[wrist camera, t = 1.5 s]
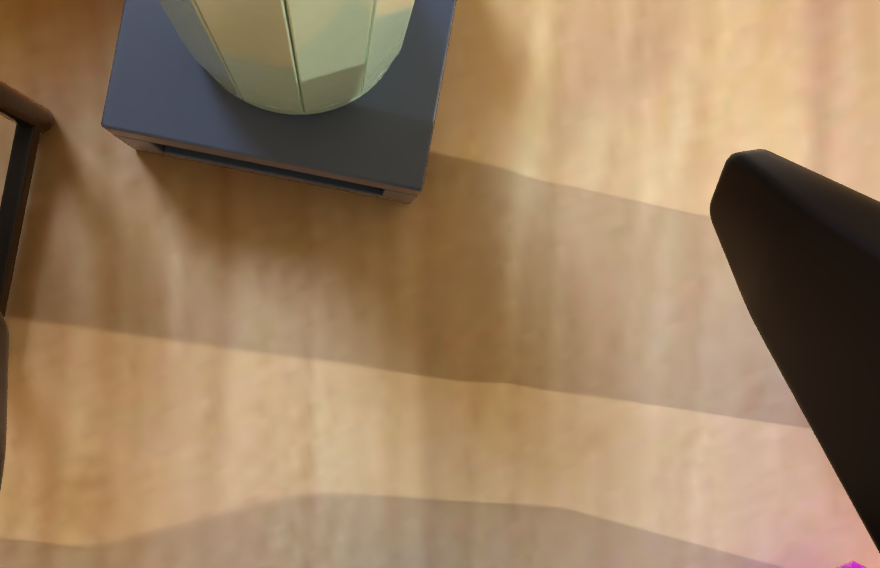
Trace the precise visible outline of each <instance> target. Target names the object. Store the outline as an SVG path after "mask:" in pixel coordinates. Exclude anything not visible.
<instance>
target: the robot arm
mask: <svg viewBox="0 0 880 568" xmlns="http://www.w3.org/2000/svg"><path fill="white" fill-rule="evenodd" d="M710 216H711V220H712V223H713V226H714V228H715V231H716V233H717V236H718V238H719V241H720V243H721V245H722V248H723V250H724V253H725V255H726V258H727V260H728V263H729V265H730V268H731V270H732V273H733V275H734V277H735V280H736V282H737V285H738V287H739V290H740V292H741V295H742V297H743V300H744V302H745V304H746V306H747V309H748V311H749V313H750V315H751V317H752V319H753V321H754V323H755V325H756V327H757V329H758V331H759V333H760V335H761V337H762V338H763V340H764V342H765V344H766V346H767V348H768V349H769V351H770V353H771V355H772V357H773V359H774V360H775V362H776V364H777V366H778V368H779V370H780V371H781V373H782V375H783V377H784V379H785V381H786V382H787V384H788V386H789V388H790V390H791V392H792V393H793V395H794V397H795V399H796V401H797V403H798V404H799V406H800V408H801V410H802V412H803V414H804V415H805V417H806V419H807V421H808V423H809V425H810V426H811V428H812V430H813V432H814V434H815V436H816V437H817V439H818V441H819V443H820V445H821V447H822V448H823V450H824V452H825V454H826V456H827V458H828V459H829V461H830V463H831V465H832V467H833V469H834V470H835V472H836V474H837V476H838V478H839V480H840V481H841V483H842V485H843V487H844V489H845V491H846V492H847V494H848V496H849V498H850V500H851V502H852V503H853V505H854V507H855V509H856V511H857V513H858V514H859V516H860V518H861V520H862V522H863V524H864V525H865V527H866V529H867V531H868V533H869V535H870V536H871V538H872V540H873V542H874V544H875V546H876V547H877V549H878V551H879V553H880V202H879V201H877V200H874V199H872V198H870V197H868V196H866V195H863V194H861V193H859V192H857V191H855V190H853V189H850V188H848V187H846V186H844V185H842V184H839V183H837V182H835V181H833V180H831V179H829V178H826V177H824V176H822V175H820V174H818V173H815V172H813V171H811V170H809V169H807V168H805V167H802V166H800V165H798V164H796V163H794V162H792V161H789V160H787V159H785V158H783V157H781V156H778V155H776V154H774V153H772V152H770V151H767V150H763V149H757V150H750V151H743V152H737V153H734V154H732V155H731V156H730V157H729V158H728V159H727V161H726V163H725V165H724V168H723V170H722V173H721V176H720V178H719V181H718V184H717V186H716V189H715V192H714V194H713V197H712V200H711V203H710ZM8 348H9V333H8V327H7V324H6V321H5V319H4V317H3V315H2V313H1V312H0V489H1V483H2V477H3V469H4V461H5V450H6V429H7V388H8Z"/></svg>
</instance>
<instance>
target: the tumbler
mask: <svg viewBox="0 0 880 568" xmlns="http://www.w3.org/2000/svg"><path fill="white" fill-rule="evenodd" d="M157 1H158V2H159V4H160V5H161V7H162V9H163V10H164V12H165V13H166V15H167V17H168V18H169V20H170V22H171V23H172V25H173V26H174V28H175V30H176V31H177V33H178V34H179V36H180V38H181V39H182V41H183V43H184V44H185V46H186V47H187V49H188V51H189V52H190V54H191V55H192V56H193V58H194V60H196V61H197V62H198V63H199V64H200V65H201V66H203V67H204V68H205V69H206V71H207V72H208V73H209V74H210V76H211V77H213V78H214V79H215V80H216V81H217V82H218V83H219V84H220V85H221V86H222V87H223V88H225V89H226V90H227V91H229V92H230V93H231V94H233V95H234V96H236V97H238V98H239V99H241V100H243V101H245V102H246V103H249V104H251V105H254V106H256V107H258V108H261V109H264V110H268V111H272V112H275V113H282V114H289V115H308V114H317V113H322V112H326V111H330V110H334V109H337V108H339V107H342V106H344V105H347V104H349V103H350V102H352V101H354V100H356V99H357V98H359V97H361V96H362V95H363V94H365V93H366V92H367V91H369V90H370V89H371V88H372V87H373V86H374V85H375V84H376V83H377V82H378V81H379V80H380V79H381V78H382V76H383V75H384V74H385V72H386V71H387V70H388V68H389V67H390V65H391V63H392V61H393V60H394V58H395V57H396V56H397V55H398V54H399V52H400V49H401V48H402V45H403V41H404V38H405V34H406V31H407V27H408V23H409V20H410V16H411V13H412V9H413V6H414V2H415V0H157Z"/></svg>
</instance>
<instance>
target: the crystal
mask: <svg viewBox="0 0 880 568" xmlns="http://www.w3.org/2000/svg"><path fill="white" fill-rule="evenodd" d="M837 568H866V567H864V566H862V565H860V564H858V563H856V562H854V561H852V562H849V563H847V564H844V565H842V566H839V567H837Z"/></svg>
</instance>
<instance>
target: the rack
mask: <svg viewBox="0 0 880 568" xmlns="http://www.w3.org/2000/svg"><path fill="white" fill-rule="evenodd" d="M0 115H1V116H3V117H5V118H7V119H9V120H11V121H12V122H14V123H16V124H17V125H16V130H15V135H14V140H13V145H12V151H11V156H10V161H9V166H8V171H7V176H6V181H5V186H4V191H3V196H2V201H1V206H0V312H1V313H2V315H3V317H5V312H6V306H7V301H8V296H9V291H10V286H11V281H12V276H13V271H14V266H15V260H16V255H17V250H18V245H19V240H20V235H21V230H22V225H23V220H24V214H25V209H26V204H27V199H28V194H29V189H30V184H31V179H32V174H33V168H34V163H35V158H36V153H37V148H38V143H39V138H40V133H44V132H46V131H48V130H49V129H50V128H51V127H52V125H53V116H52V114H51V112H50V111H49V110H48V109H46V108H45V107H43V106H42V105H40V104H38V103H37V102H35V101H33V100H32V99H30V98H29V97H27V96H25V95H24V94H22V93H20V92H19V91H17V90H16V89H14V88H12V87H11V86H9V85H7V84H6V83H4V82H3V81H1V80H0Z"/></svg>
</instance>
